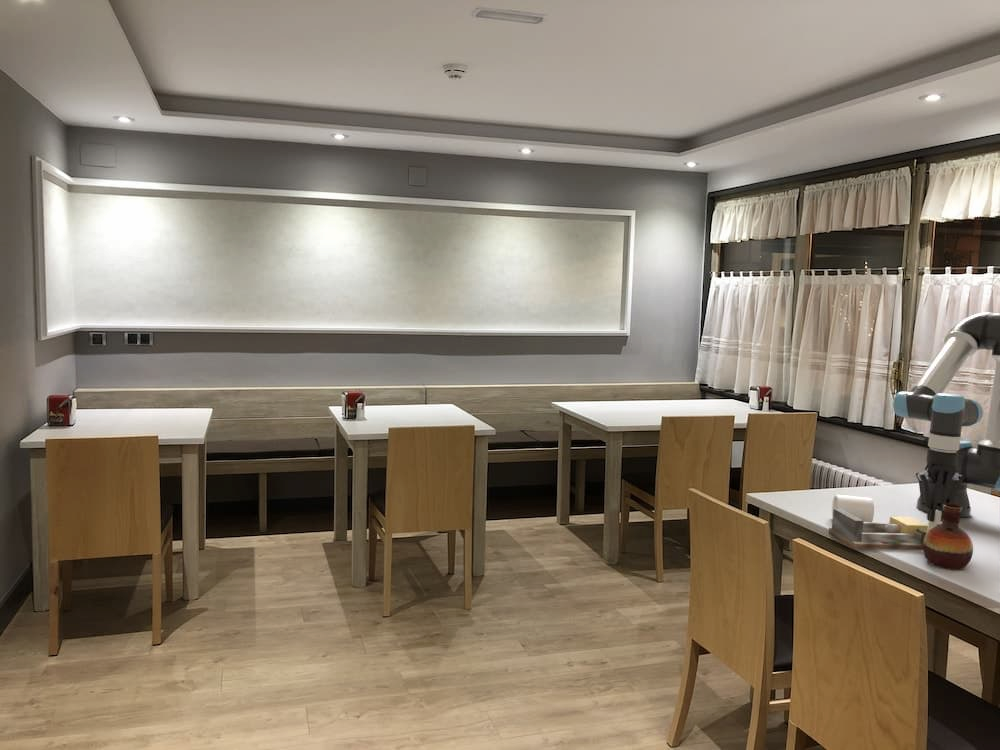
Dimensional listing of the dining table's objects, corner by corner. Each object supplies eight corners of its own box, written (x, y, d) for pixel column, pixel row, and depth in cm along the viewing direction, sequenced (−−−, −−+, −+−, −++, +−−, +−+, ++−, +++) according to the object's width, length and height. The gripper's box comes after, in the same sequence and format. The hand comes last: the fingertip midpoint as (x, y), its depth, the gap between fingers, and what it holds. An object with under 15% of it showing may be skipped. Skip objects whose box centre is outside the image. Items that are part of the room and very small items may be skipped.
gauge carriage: (908, 532, 220) (910, 517, 220) (934, 545, 209) (936, 529, 208) (878, 531, 219) (880, 516, 219) (902, 544, 208) (904, 528, 208)
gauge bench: (908, 533, 223) (910, 509, 223) (939, 550, 210) (942, 524, 209) (828, 531, 221) (831, 507, 220) (855, 548, 207) (858, 522, 207)
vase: (978, 574, 192) (985, 513, 190) (930, 569, 194) (937, 509, 192) (960, 559, 203) (967, 502, 201) (914, 555, 204) (921, 497, 203)
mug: (872, 528, 227) (875, 501, 227) (836, 524, 229) (839, 498, 229) (862, 517, 239) (864, 491, 238) (827, 513, 241) (830, 488, 240)
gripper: (956, 447, 218) (946, 529, 221) (912, 446, 217) (903, 527, 219) (974, 453, 211) (964, 537, 213) (929, 451, 209) (919, 536, 212)
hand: (933, 532), depth 216 cm, fingers closed
